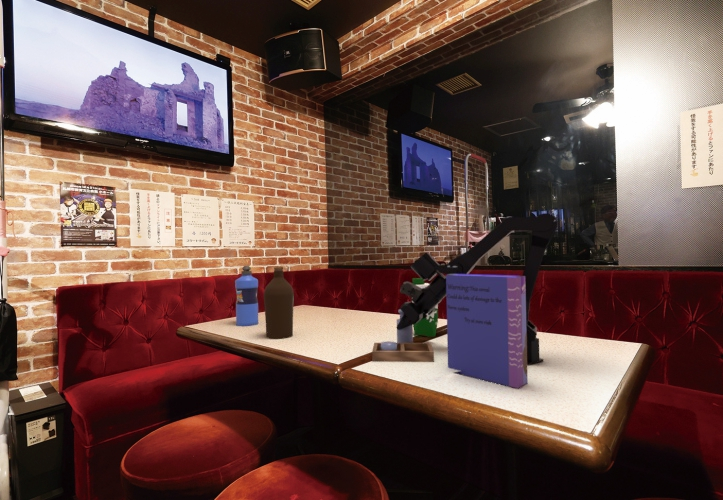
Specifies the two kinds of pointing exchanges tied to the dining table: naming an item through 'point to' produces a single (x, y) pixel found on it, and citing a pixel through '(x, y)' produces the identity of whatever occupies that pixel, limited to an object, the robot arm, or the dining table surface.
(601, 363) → the dining table surface
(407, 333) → the flask
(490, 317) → the purple book
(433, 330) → the milk carton
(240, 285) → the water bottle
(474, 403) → the dining table surface
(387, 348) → the blue-grey round dome
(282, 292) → the olive oil
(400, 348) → the caddy
